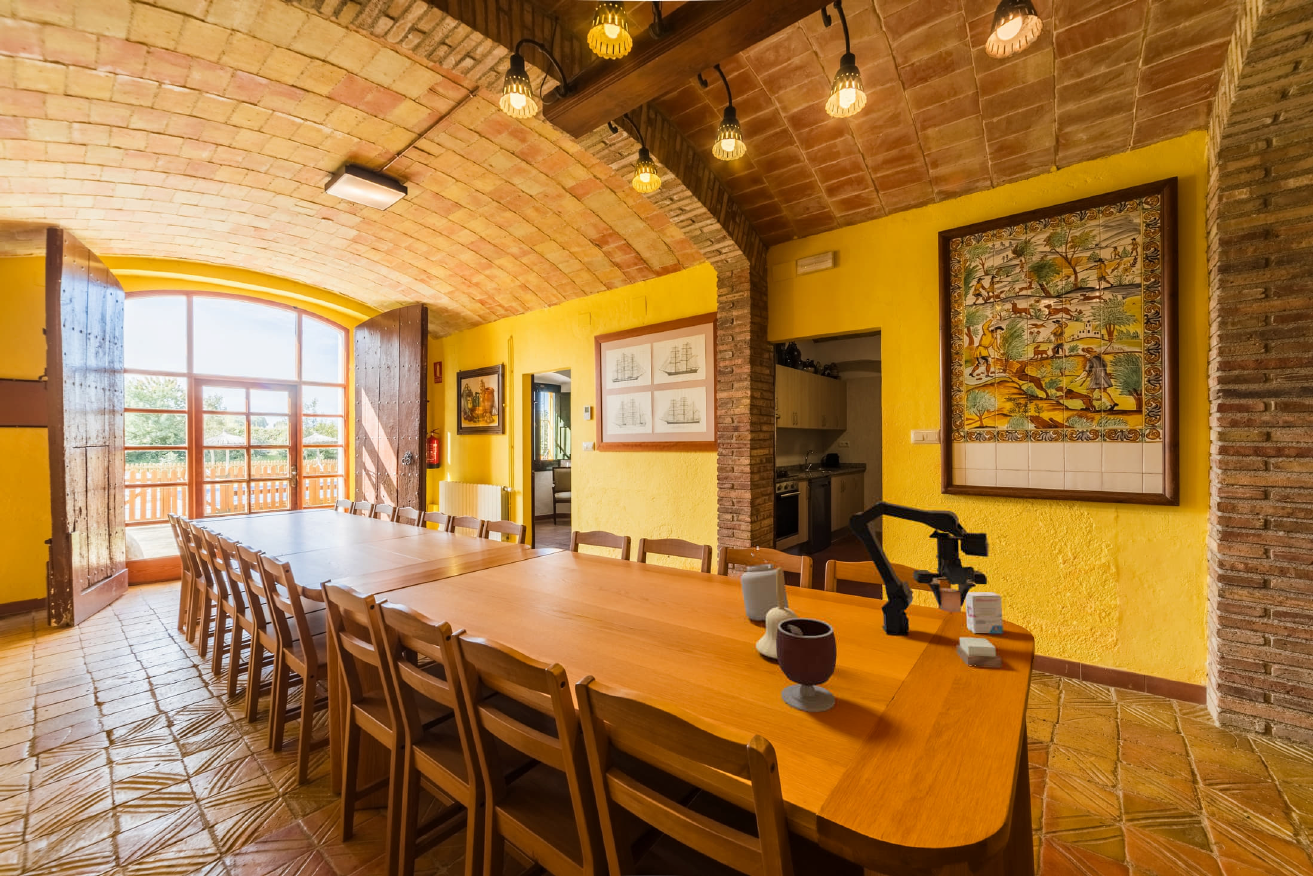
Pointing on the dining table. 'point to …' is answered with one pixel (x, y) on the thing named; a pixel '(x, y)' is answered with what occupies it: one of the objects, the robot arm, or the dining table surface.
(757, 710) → the dining table surface
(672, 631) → the dining table surface
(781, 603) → the handbell
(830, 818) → the dining table surface
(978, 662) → the walnut slab
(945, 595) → the terracotta cylinder
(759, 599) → the jar
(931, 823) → the dining table surface
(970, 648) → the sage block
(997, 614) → the ink box
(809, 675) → the mate gourd
